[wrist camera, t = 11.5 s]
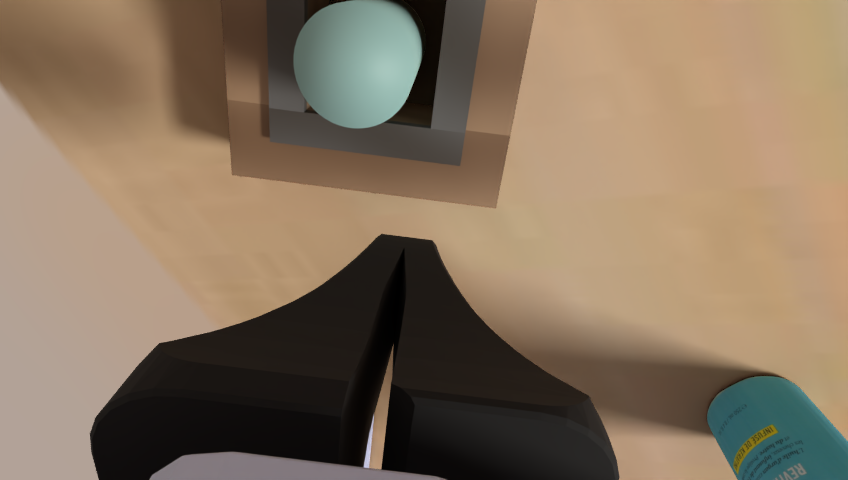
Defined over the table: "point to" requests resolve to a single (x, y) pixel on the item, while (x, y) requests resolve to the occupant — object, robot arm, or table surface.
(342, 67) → the peg
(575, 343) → the table surface
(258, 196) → the table surface
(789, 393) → the tube
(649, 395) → the table surface
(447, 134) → the socket
